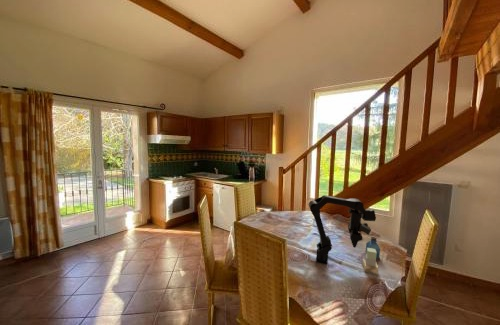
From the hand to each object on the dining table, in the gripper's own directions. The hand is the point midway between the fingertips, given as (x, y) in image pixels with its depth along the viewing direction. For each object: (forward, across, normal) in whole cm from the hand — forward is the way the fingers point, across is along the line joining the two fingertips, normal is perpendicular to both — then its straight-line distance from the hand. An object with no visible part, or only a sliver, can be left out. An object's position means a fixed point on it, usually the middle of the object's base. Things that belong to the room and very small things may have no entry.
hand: (353, 243), depth 131 cm
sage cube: (+5, -2, -10) cm, 11 cm away
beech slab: (+13, -2, -10) cm, 17 cm away
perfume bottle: (+13, +16, -14) cm, 25 cm away
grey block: (+9, -2, -10) cm, 14 cm away
